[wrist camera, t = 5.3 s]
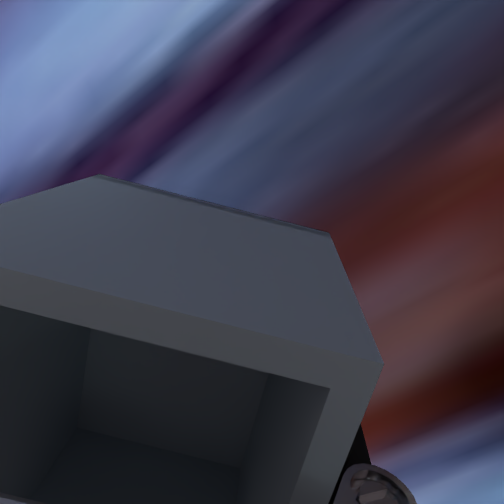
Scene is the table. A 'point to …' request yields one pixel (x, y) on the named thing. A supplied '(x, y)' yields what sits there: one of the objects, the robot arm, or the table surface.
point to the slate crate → (173, 351)
